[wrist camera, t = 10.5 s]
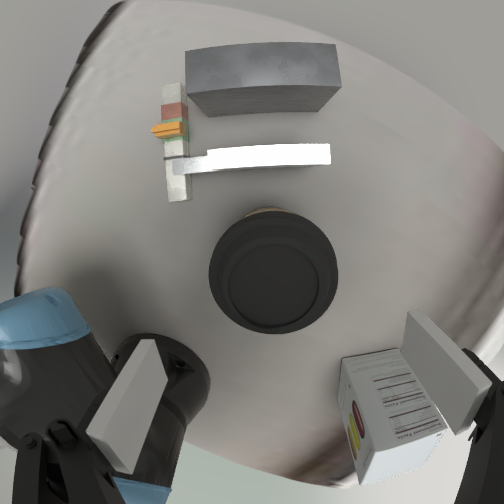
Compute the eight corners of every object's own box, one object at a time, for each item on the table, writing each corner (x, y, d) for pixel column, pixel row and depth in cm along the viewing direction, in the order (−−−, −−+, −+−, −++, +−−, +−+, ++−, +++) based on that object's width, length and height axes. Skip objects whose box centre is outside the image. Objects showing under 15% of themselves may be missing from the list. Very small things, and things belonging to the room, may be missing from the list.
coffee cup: (246, 184, 30) (230, 193, 16) (322, 214, 31) (369, 248, 16) (219, 259, 33) (186, 323, 18) (291, 285, 33) (309, 363, 19)
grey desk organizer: (174, 199, 31) (138, 211, 21) (168, 91, 27) (133, 63, 18) (322, 190, 30) (349, 198, 21) (314, 79, 27) (335, 44, 17)
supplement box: (340, 357, 36) (374, 451, 20) (399, 346, 35) (450, 425, 19) (336, 402, 39) (358, 488, 22) (389, 391, 38) (424, 468, 22)
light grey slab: (185, 174, 30) (152, 176, 20) (184, 161, 29) (150, 157, 20) (308, 166, 29) (330, 163, 20) (307, 153, 29) (329, 144, 19)
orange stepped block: (161, 139, 26) (151, 136, 24) (160, 128, 26) (151, 124, 23) (186, 135, 26) (179, 131, 24) (186, 124, 26) (178, 119, 23)
